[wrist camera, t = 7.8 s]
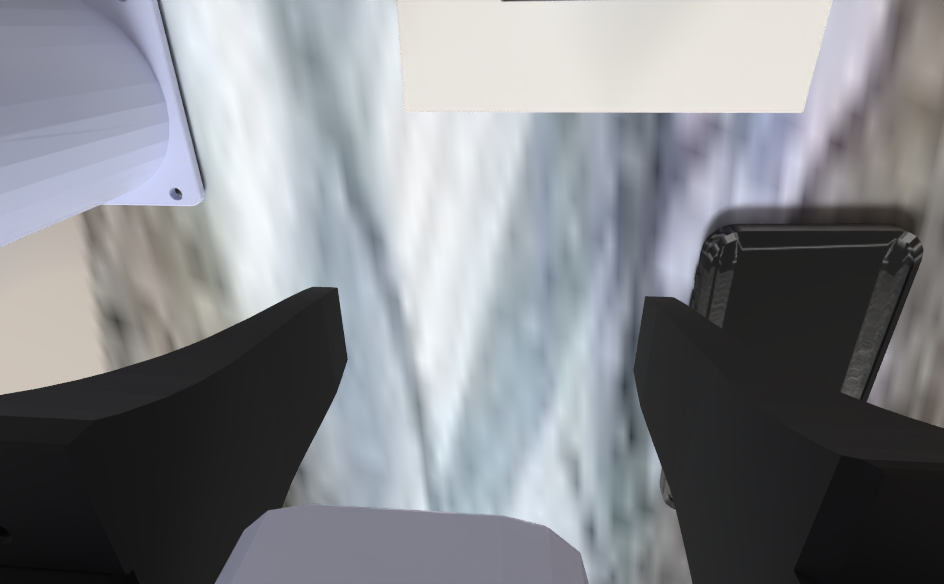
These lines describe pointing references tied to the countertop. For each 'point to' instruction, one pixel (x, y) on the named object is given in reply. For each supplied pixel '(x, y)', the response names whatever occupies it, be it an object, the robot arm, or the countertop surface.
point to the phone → (809, 296)
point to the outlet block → (609, 55)
